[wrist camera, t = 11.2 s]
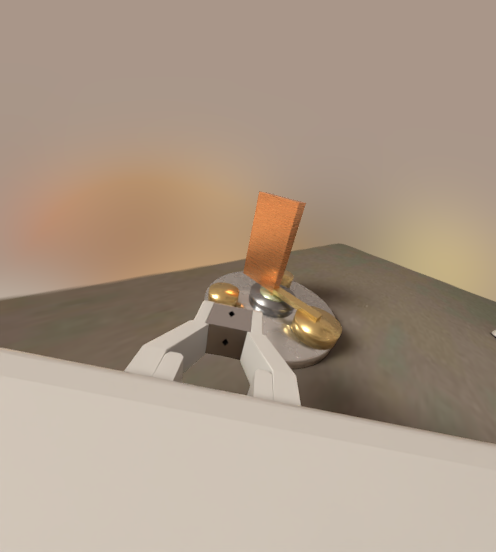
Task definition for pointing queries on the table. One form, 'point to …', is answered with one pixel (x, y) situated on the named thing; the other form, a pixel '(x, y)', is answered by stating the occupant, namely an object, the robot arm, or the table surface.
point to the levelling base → (271, 313)
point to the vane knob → (272, 262)
